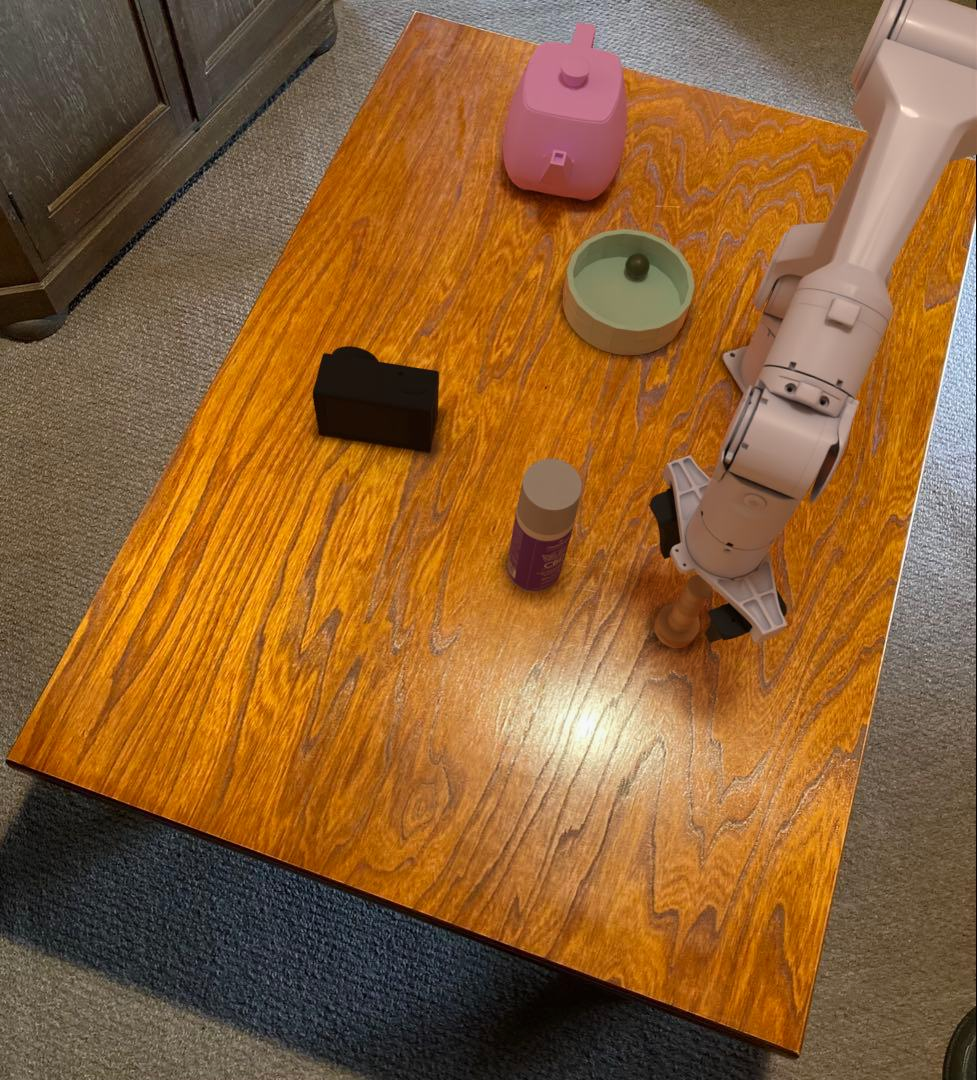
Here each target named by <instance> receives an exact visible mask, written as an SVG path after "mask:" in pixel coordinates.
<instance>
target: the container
mask: <svg viewBox="0 0 977 1080" xmlns="http://www.w3.org/2000/svg"><path fill="white" fill-rule="evenodd" d="M582 490H583V482H582V478H581V475H580V473H579V472H578V471H577V469H576V468H575V467H574V466H573V465H572V464H570V463H568V462H567V461H565V460H562V459H559V458H553V457H552V458H551V457H550V458H549V457H548V458H542V459H540V460H537V461H535V462H534V463H532V464H530V466H529V467H528V468H527V469H526V470H525V472H524V475H523V477H522V482H521V487H520V491H519V494H518V499H517V505H516V508H515V514H514V521H513V527H512V533H511V538H510V544H509V551H508V555H507V562H506V563H507V564H506V572H507V576H508V578H509V580H510V582H511V583H512V585H513V586H515V587H516V588H518V589H519V590H520V591H522V592H525V593H529V594H541V593H544V592H547V591H549V590H551V589H552V588H553V587H554V586H555V585H556V584H557V582H558V581H559V579H560V576H561V572H562V569H563V566H564V562H565V558H566V555H567V552H568V549H569V544H570V540H571V537H572V534H573V530H574V526H575V522H576V519H577V512H578V510H579V509H578V508H579V504H580V501H581V500H580V499H581V495H582Z"/></svg>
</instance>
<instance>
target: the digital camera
mask: <svg viewBox="0 0 977 1080" xmlns="http://www.w3.org/2000/svg"><path fill="white" fill-rule="evenodd" d="M315 378H316V379H315V382H314V385H313V389H312V399H313V400H312V401H313V406H314V413H315V417H316V418H315V419H316V424H317V430H318V435H319V436H323V437H324V436H325V437H331V438H336V439H337V438H338V439H344V440H349V441H356V442H362V443H369V444H374V445H381V446H386V447H387V446H388V447H393V448H400V449H406V450H413V451H418V452H423V453H424V452H425V453H431V450H432V445H433V440H434V436H435V431H436V426H437V421H438V417H439V394H440V392H439V391H440V372H439V371H438V370H434V369H428V368H421V367H415V366H409V365H402V364H397V363H390V362H383V361H380V360H379V359H378V358H377V357H376V355H374V354H373V353H371V351H368V350H366V349H364V348H361V347H358V346H351V345H349V346H348V345H344V346H340V347H337V348H336V349H334V350H333V351H332V353H327V352H324V353H322V356H321V359H320V364H319V367H318V371H317V375H316V377H315Z"/></svg>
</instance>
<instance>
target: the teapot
mask: <svg viewBox="0 0 977 1080" xmlns="http://www.w3.org/2000/svg"><path fill="white" fill-rule="evenodd" d="M596 29H597V25H595V24H590V23H585V22H580V21H577V22H576V25H575V29H574V33H573V37H572V41H571V43H565V42H557V41H544V42H542V43H540V44H539V45H538V46H536V48H535V50H534V51H533V53H532V55H531V57H530V58H529V60H528V62H527V64H526V66H525V68H524V71H523V73H522V75H521V77H520V79H519V81H518V83H517V86H516V87H515V90H514V92H513V95H512V97H511V100H510V103H509V107H508V110H507V115H506V119H505V123H504V129H503V138H502V152H503V153H502V155H503V162H504V168H505V170H506V173H507V176H508V177H509V179H510V180H511V182H512V183H513V184H514V185H516V187H518V188H519V189H521V190H523V191H534V192H539V193H543V194H548V195H552V196H558V197H559V196H560V197H565V198H573V199H578V200H580V201H583V202H584V201H585V202H586V201H587V202H588V201H592V200H593V199H595V198H597V197H599V196H600V195H602V193H603V192H604V191H606V189H608V187H609V186H610V184H611V183H612V180H614V177H615V175H616V173H617V171H618V169H619V166H620V164H621V161H622V159H623V156H624V155H623V154H624V151H625V145H626V141H627V132H628V131H627V129H628V104H627V102H628V101H627V90H626V83H625V75H624V70H623V65H622V61H621V59H620V58H619V56H618V55H617V54H616V53H613V52H610V51H607V50H602V49H599V48H594V43H595V37H596Z"/></svg>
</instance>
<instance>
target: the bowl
mask: <svg viewBox="0 0 977 1080" xmlns="http://www.w3.org/2000/svg"><path fill="white" fill-rule="evenodd" d="M636 253H640V254H643V255H645V256H646V257H647V258H648V260H649V263H650V268H649V271H648V273H647V274H646V275H645V276H644V277H642V278H633V277H631V276H629V274H628V273H627V271H626V268H625V264H626V261H627V259H628V258H629V257H630V256H631V255H633V254H636ZM695 288H696V285H695V279H694V274H693V269H692V267H691V265H690V264H689V263H688V261H687V260H686V258H685V256H684V255H683V253H682V252H681V251H680V250H678V249H677V248H676V247H674V245H672V244H671V243H670V242H668V241H667V240H666V239H664V238H661V237H659V236H656V235H655V234H652V233H650V232H648V231H644V230H636V229H630V228H629V229H628V228H620V229H613V230H605V231H602V232H599V233H598V234H595V235H593V236H591V237H589V238H587V239H585V240H584V241H583V242H581V244H580V245H579V246H578V247H577V248H576V249H575V250H574V251H573V253H572V254H571V256H570V260H569V262H568V266H567V267H566V272H565V277H564V283H563V288H562V310H563V312H564V316H565V318H566V320H567V322H568V324H569V326H570V327H571V329H572V330H573V331H574V332H575V334H576V335H577V336H579V337H580V338H581V339H582V340H583V341H584V342H586V343H587V344H589V345H591V346H593V348H596V349H598V350H601V351H603V352H606V353H610V354H614V355H620V356H642V355H646V354H649V353H653V352H656V351H658V350H660V349H662V348H664V347H665V346H666V345H669V343H670V342H672V341H673V340H674V339H675V338H676V337H677V336H678V334H679V333H680V331H681V329H682V328H683V326H684V323H685V320H686V318H687V315H688V312H689V309H690V306H691V303H692V300H693V296H694V293H695Z"/></svg>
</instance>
